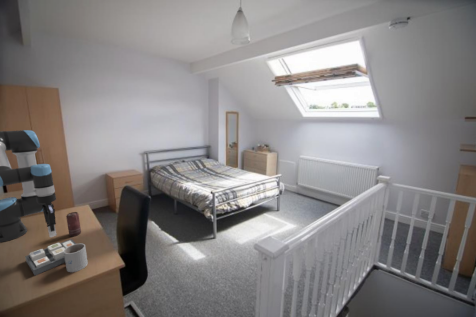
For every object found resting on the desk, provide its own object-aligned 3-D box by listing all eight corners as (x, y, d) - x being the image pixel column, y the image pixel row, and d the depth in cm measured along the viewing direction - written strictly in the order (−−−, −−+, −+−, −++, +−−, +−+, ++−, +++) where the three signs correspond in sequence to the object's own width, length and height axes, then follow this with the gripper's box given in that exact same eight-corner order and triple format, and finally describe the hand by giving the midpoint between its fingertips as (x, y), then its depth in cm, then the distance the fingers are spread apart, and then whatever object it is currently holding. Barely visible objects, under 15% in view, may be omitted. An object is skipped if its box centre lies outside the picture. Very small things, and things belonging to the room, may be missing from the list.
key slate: (30, 258, 112) (29, 252, 112) (43, 253, 116) (42, 248, 116) (32, 261, 109) (31, 256, 109) (45, 256, 113) (44, 251, 113)
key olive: (48, 251, 118) (47, 246, 117) (59, 246, 122) (58, 241, 121) (51, 254, 115) (50, 249, 115) (62, 250, 119) (61, 245, 118)
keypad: (26, 261, 113) (24, 255, 112) (72, 243, 129) (71, 238, 128) (34, 275, 103) (33, 269, 102) (83, 254, 119) (82, 249, 118)
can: (75, 237, 135) (72, 216, 132) (66, 236, 137) (63, 215, 134) (83, 232, 141) (81, 212, 138) (75, 231, 142) (72, 211, 140)
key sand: (52, 256, 114) (51, 251, 113) (64, 251, 118) (63, 246, 117) (55, 260, 111) (54, 254, 110) (67, 255, 115) (66, 250, 114)
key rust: (34, 266, 108) (33, 261, 108) (47, 261, 112) (46, 255, 112) (37, 270, 106) (36, 265, 105) (50, 265, 110) (49, 259, 109)
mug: (89, 265, 110) (87, 248, 108) (69, 274, 104) (65, 256, 102) (83, 255, 118) (80, 238, 116) (63, 263, 112) (60, 245, 110)
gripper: (32, 193, 113) (40, 235, 117) (39, 199, 105) (47, 243, 110) (50, 189, 119) (57, 229, 123) (58, 194, 111) (65, 236, 116)
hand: (53, 235), depth 117 cm, fingers closed
